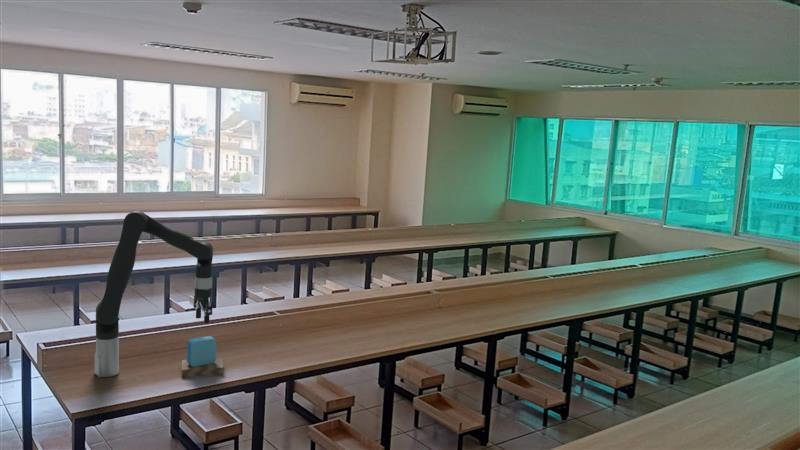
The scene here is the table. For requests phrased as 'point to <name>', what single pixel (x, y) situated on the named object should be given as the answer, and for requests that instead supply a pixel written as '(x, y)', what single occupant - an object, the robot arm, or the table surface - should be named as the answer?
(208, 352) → the data package
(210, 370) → the mottled brown block
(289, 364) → the table surface
